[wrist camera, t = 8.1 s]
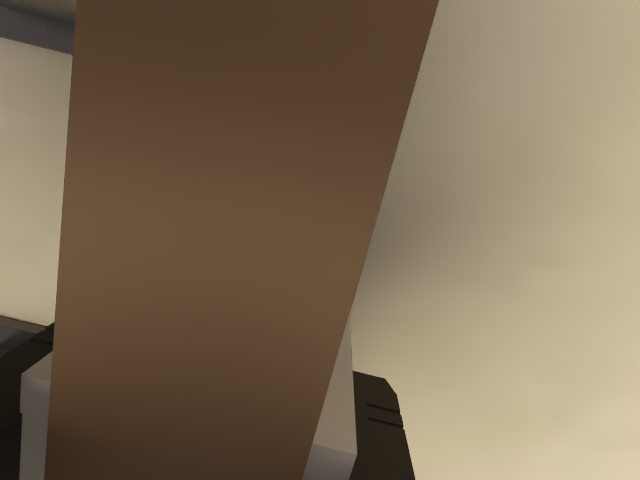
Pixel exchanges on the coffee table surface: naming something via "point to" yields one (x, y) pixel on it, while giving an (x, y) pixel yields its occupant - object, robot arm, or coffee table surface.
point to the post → (39, 23)
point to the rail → (217, 226)
